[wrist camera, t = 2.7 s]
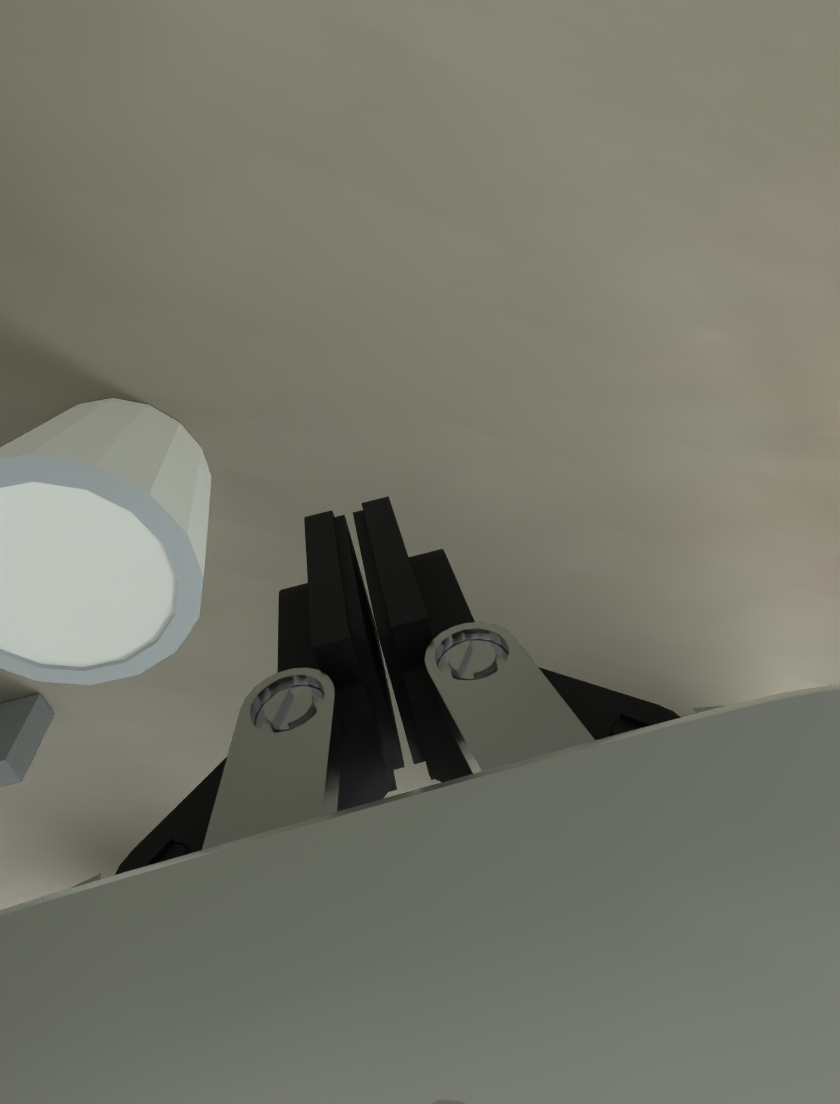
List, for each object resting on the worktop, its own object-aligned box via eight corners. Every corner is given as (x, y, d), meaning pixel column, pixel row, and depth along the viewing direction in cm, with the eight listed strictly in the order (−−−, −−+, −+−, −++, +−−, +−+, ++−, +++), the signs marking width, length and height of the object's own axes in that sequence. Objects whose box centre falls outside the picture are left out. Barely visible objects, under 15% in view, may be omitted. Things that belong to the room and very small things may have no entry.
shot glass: (-31, 425, 20) (-175, 522, 14) (165, 346, 20) (106, 411, 14) (95, 588, 23) (25, 721, 17) (262, 522, 23) (250, 634, 17)
